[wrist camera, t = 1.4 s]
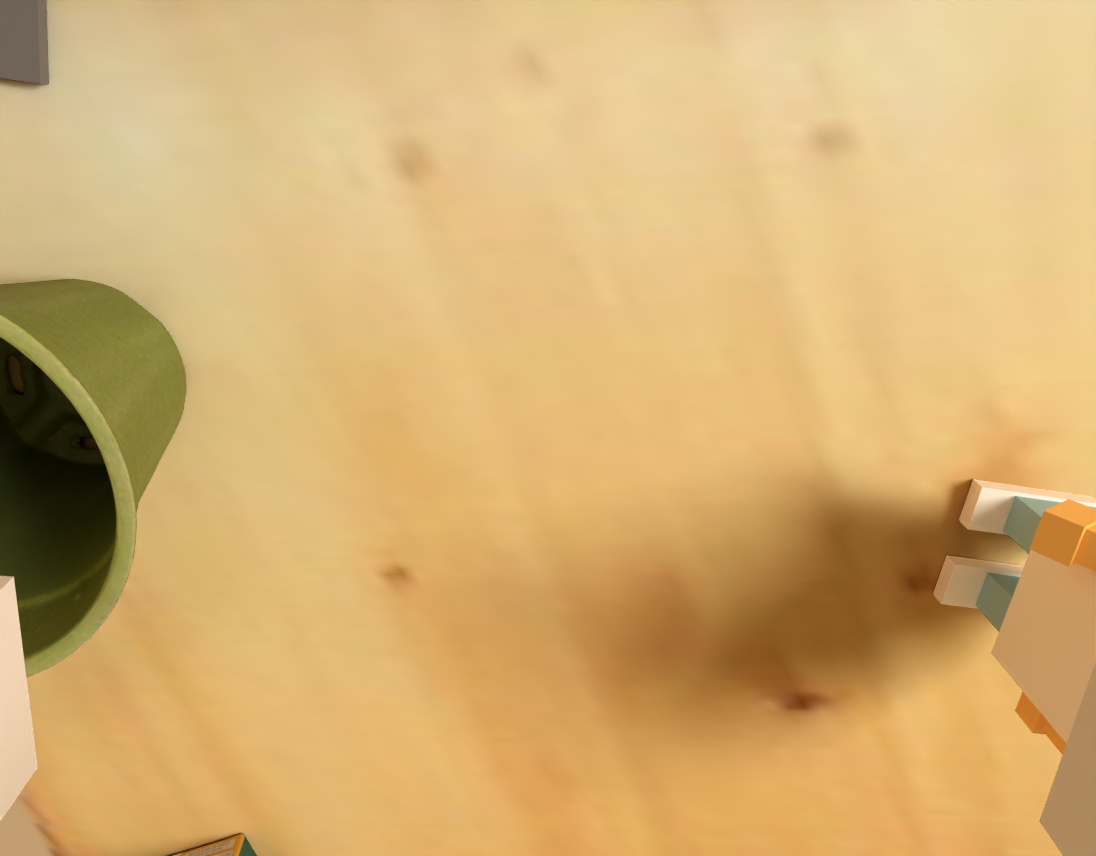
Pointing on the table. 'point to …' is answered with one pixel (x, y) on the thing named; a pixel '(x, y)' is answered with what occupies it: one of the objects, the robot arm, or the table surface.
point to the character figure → (1034, 596)
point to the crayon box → (224, 848)
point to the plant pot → (77, 451)
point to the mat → (24, 41)
